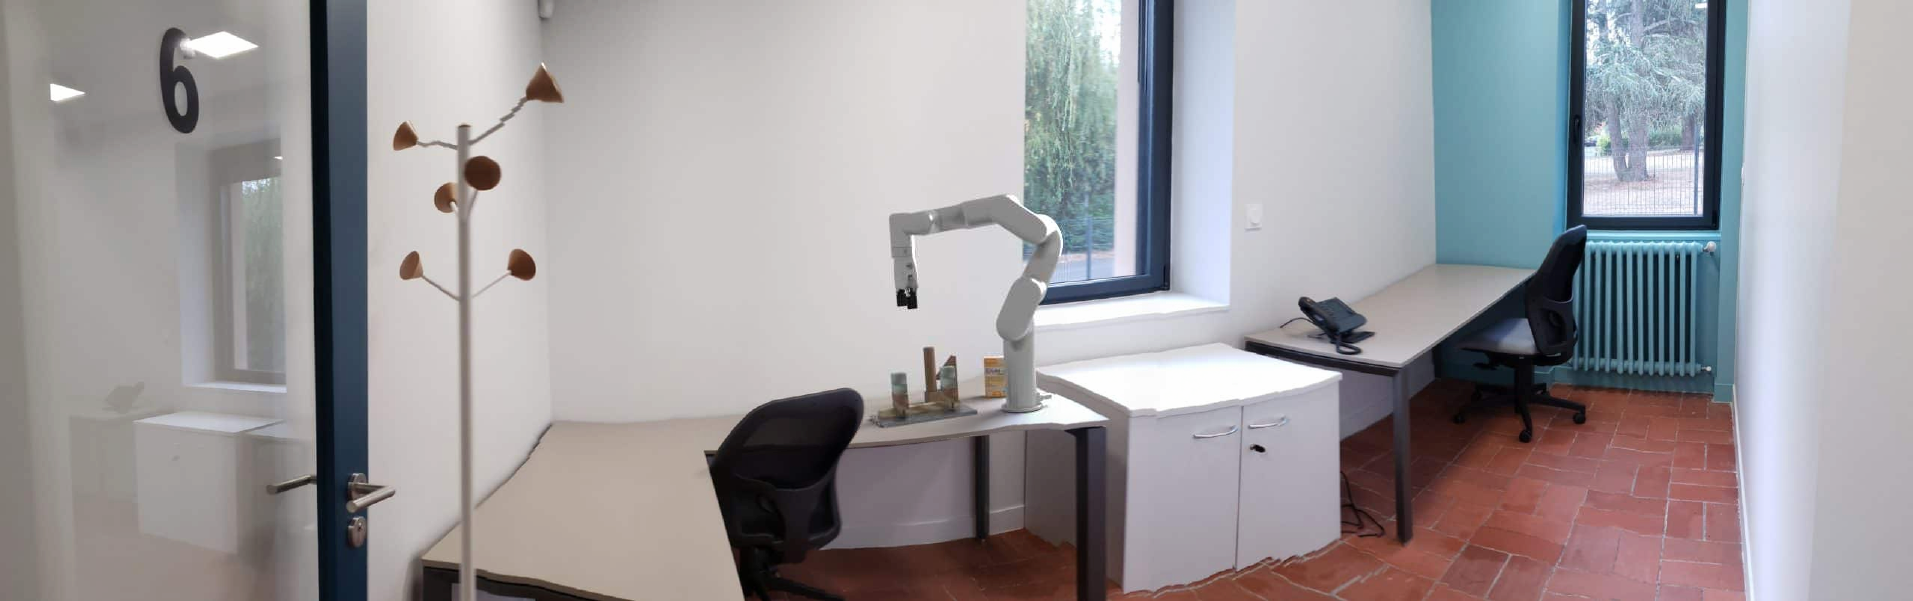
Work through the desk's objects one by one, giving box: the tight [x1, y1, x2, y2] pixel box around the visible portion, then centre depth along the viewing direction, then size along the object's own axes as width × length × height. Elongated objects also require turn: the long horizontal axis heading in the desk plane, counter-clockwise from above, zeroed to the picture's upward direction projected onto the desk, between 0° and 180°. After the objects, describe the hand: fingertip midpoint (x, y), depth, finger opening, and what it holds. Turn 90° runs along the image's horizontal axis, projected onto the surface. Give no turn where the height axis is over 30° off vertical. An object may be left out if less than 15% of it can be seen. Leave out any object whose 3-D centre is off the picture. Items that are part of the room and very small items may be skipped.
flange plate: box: [868, 402, 978, 427], centre depth 319 cm, size 30×14×1 cm, turn 112°
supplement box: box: [983, 355, 1006, 398], centre depth 341 cm, size 8×5×13 cm, turn 81°
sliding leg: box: [890, 371, 910, 416], centre depth 316 cm, size 4×6×12 cm, turn 22°
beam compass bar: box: [877, 366, 961, 418], centre depth 319 cm, size 26×7×13 cm, turn 112°
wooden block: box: [922, 346, 960, 403], centre depth 339 cm, size 4×11×18 cm, turn 117°
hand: (907, 307), depth 326 cm, fingers open, 9 cm apart
